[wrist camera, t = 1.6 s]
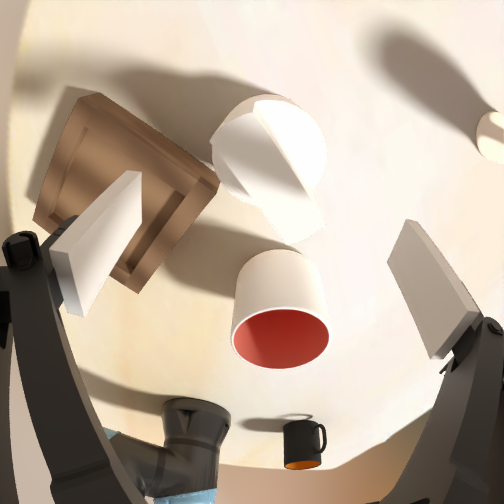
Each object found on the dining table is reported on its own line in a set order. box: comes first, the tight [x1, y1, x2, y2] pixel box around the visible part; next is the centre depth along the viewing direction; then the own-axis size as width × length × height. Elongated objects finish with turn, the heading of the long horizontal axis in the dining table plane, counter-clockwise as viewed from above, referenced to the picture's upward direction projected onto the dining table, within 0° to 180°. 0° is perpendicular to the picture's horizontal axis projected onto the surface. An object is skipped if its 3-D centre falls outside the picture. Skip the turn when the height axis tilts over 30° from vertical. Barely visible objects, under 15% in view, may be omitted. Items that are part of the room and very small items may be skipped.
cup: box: [231, 249, 332, 370], centre depth 33 cm, size 10×10×10 cm
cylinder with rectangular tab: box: [209, 94, 327, 245], centre depth 23 cm, size 9×9×12 cm
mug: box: [283, 420, 327, 470], centre depth 57 cm, size 8×12×10 cm
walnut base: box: [33, 93, 220, 294], centre depth 29 cm, size 16×16×4 cm
